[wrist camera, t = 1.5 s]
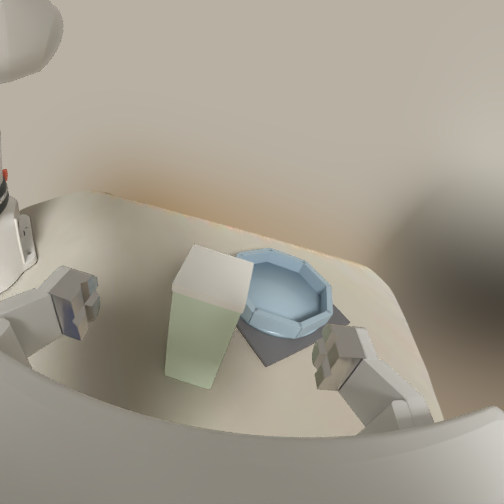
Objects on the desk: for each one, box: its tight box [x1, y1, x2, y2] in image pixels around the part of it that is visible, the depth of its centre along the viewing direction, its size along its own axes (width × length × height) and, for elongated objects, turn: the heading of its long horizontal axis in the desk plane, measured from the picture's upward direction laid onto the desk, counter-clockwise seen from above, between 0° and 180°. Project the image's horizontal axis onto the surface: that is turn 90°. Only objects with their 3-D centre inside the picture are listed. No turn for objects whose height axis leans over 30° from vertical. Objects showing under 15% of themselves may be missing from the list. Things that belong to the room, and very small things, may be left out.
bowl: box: [236, 248, 333, 339], centre depth 44 cm, size 17×17×3 cm
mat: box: [236, 305, 350, 367], centre depth 45 cm, size 20×19×1 cm
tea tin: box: [165, 244, 254, 390], centre depth 26 cm, size 6×6×15 cm
